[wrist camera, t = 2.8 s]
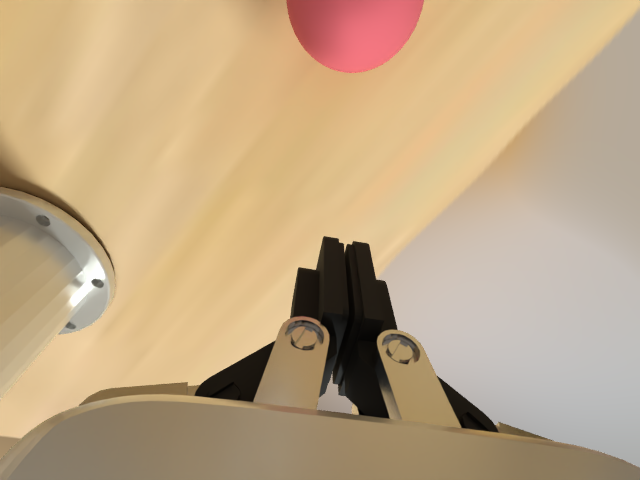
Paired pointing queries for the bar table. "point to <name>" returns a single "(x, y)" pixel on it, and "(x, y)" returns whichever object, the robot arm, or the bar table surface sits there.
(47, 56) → the bar table surface
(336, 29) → the ball
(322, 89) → the bar table surface
